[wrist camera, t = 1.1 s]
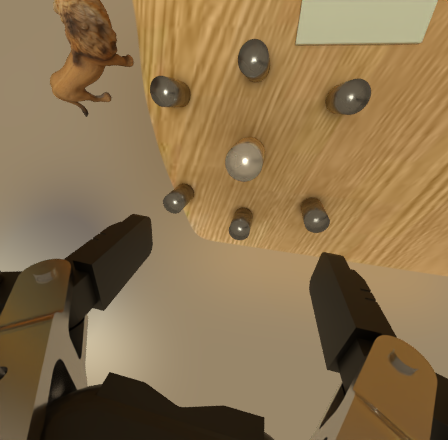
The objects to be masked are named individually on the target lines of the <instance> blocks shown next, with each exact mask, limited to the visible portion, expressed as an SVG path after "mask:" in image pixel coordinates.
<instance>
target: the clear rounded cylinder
mask: <svg viewBox="0 0 448 440" xmlns="http://www.w3.org/2000/svg"><path fill="white" fill-rule="evenodd" d="M264 157H265V149H264V146H263V144H262V143H261V142H260V141H259V140H258V139H256V138H253V137H247V138H244V139H242V140H240V141H239V142H238V143H237V144H236V145H235V146H234V147H233V148H231V149H230V151H229V152H228V154H227V156H226V160H225V165H226V169H227V171H228V173H229V174H230V176H231V177H233V178H234V179H236V180H238V181H244V182H245V181H250V180H252V179H254V178H256V177H257V176H258V174H259V173H260V171H261V169H262V165H263V161H264Z"/></svg>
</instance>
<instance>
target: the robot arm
mask: <svg viewBox="0 0 448 440" xmlns="http://www.w3.org/2000/svg"><path fill="white" fill-rule="evenodd" d="M152 245H153V242H152V228H151V219H150V218H149V217H147V216H142V215H137V214H132V215H130V216H129V217H128V218H126V219H125V220H124V221H123V222H118V223H116V224H114V225H111V226H109V227H107V228H106V229H105V230H103V231H102V232H101V233H100V234H98V235H96V236H95V237H94V238H93V239H91V240H90V241H88V242H87V243H86V244H84V245H83V246H81V247H80V248H79V249H78V250H76V251H75V252H73V253H72V254H71V255H69V256H68V257H66V258H65V259H49V260H45V261H41V262H38V263H36V264H34V265H31V266H30V267H28V268H26V269H25V270H24V271H21V272H1V271H0V440H274V439H273V438H272V437H271V436H269V435H268V434H267V433H265V432H264V417H261V416H257V415H254V414H251V413H247V412H243V411H240V410H237V409H234V408H230V407H226V406H204V407H179V406H177V405H175V404H174V403H172V402H171V401H170V400H168V399H167V398H166V397H164V396H163V395H162V394H160V393H159V392H157V391H156V390H155V389H153V388H152V387H150V386H149V385H148V384H146V383H144V382H141V381H138V380H135V379H131V378H128V377H124V376H121V375H118V374H114V373H111V372H109V374H108V376H107V378H106V379H105V381H104V382H103V384H99V385H94V386H89V387H87V377H86V371H85V358H86V341H87V327H88V316H87V313H88V312H89V311H90V310H91V309H92V308H95V309H99V310H103V311H104V310H105V309H106V308H107V306H108V305H109V304H110V303H111V301H112V300H113V299H114V298H115V296H116V295H117V294H118V293H119V292H120V290H121V289H122V288H123V287H124V286H125V284H126V283H127V282H128V281H129V279H130V278H131V277H132V276H133V274H134V273H135V272H136V271H137V270H138V268H139V267H140V266H141V265H142V263H143V262H144V261H145V260H146V259H147V257H148V256H149V255H150V253H151V250H152ZM309 290H310V295H311V300H312V304H313V309H314V313H315V318H316V322H317V327H318V331H319V336H320V340H321V345H322V349H323V354H324V358H325V363H326V367H327V370H331V371H335V372H338V373H340V375H341V379H342V382H341V384H340V385H339V386H338V389H337V390H336V392H335V394H334V396H333V398H332V400H331V402H330V404H329V405H328V407H327V409H326V411H325V413H324V415H323V417H322V419H321V421H320V423H319V424H318V426H317V428H316V430H315V432H314V434H313V435H312V437H311V439H310V440H448V379H447V378H445V377H443V376H441V375H439V374H437V373H435V372H434V370H433V368H432V367H431V365H430V364H429V362H428V361H427V360H426V359H425V358H424V356H422V355H421V354H420V353H419V352H418V351H417V350H416V349H415V348H413V347H412V346H411V345H409V344H408V343H406V342H404V341H403V340H401V339H398V338H397V337H396V335H395V333H394V332H393V330H392V328H391V326H390V324H389V323H388V321H387V319H386V317H385V315H384V314H383V312H382V310H381V308H380V307H379V305H378V303H377V302H376V300H375V298H374V296H373V294H372V293H370V291H371V290H370V289H369V287H368V285H367V284H366V282H365V280H364V279H363V278H362V277H361V276H360V275H359V274H358V273H357V272H356V271H355V270H351V269H350V268H349V266H348V264H347V262H346V260H345V258H344V257H343V256H341V255H336V254H331V253H326V252H323V253H322V254H321V256H320V258H319V261H318V263H317V265H316V268H315V270H314V272H313V275H312V277H311V280H310V287H309Z"/></svg>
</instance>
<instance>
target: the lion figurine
mask: <svg viewBox="0 0 448 440" xmlns="http://www.w3.org/2000/svg"><path fill="white" fill-rule="evenodd" d="M53 5H54V11H55V12H56V13H57V14H59V15H60V17H61V21H62V22H63V23H64V24H65V32H66V37H67V39H68V41H69V43H70V44H71V52H70V54H69V56H68V57H67V60H66V62H65V65H64V66H63V68H61V69H60V70H59V71H57V72H55V73H53V74H52V76H51V78H50V84H51V87H52V91H53V94H54V95H55V96H56V97H57V98H59V99H61V100H63V101H67V102H70V103H72V104H75V105H77V106H78V107H80V108H81V109H82V111H83V113H84V115H85V116H86V117H87V115H88V111H87V109H86V108H85V107H84V106H83V105H81V104H80V103H78V101H85V100H91V101H93V102H100V101H102V102H109V101H111V96H110V94H109V93H107V92H105V93H103V94H102V95H101V96H94V95H92V94H90V93H89V92H87V91H86V90H85V87H87V86H88V85H90V84H92V83H94V82H95V81H97V80H98V79H99V78H100V76H101V75H102V73H103V71H104V68H105V66H111V65H119V66H125V67H131V66H132V65H133V58H132V57H131V56H130V55H127V56H122V57H121V56H119V55H118V54H116V52H117V47H116V41H117V39H116V33H115V32H114V31H113V29H112V26H111V22H110V19H109V16H108V14H107V11H106V9H105V8H104V6H103V4H102V3H101V1H100V0H55V2H54V3H53Z"/></svg>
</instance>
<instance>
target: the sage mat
mask: <svg viewBox="0 0 448 440" xmlns="http://www.w3.org/2000/svg"><path fill="white" fill-rule="evenodd" d="M437 1H438V0H302V5H301V12H300V18H299V25H298V31H297V37H296V44H295V45H369V44H419V43H421V42H422V40H423V38H424V35H425V33H426V30H427V27H428V25H429V22H430V20H431V17H432V14H433V12H434V9H435V7H436V4H437Z"/></svg>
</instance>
